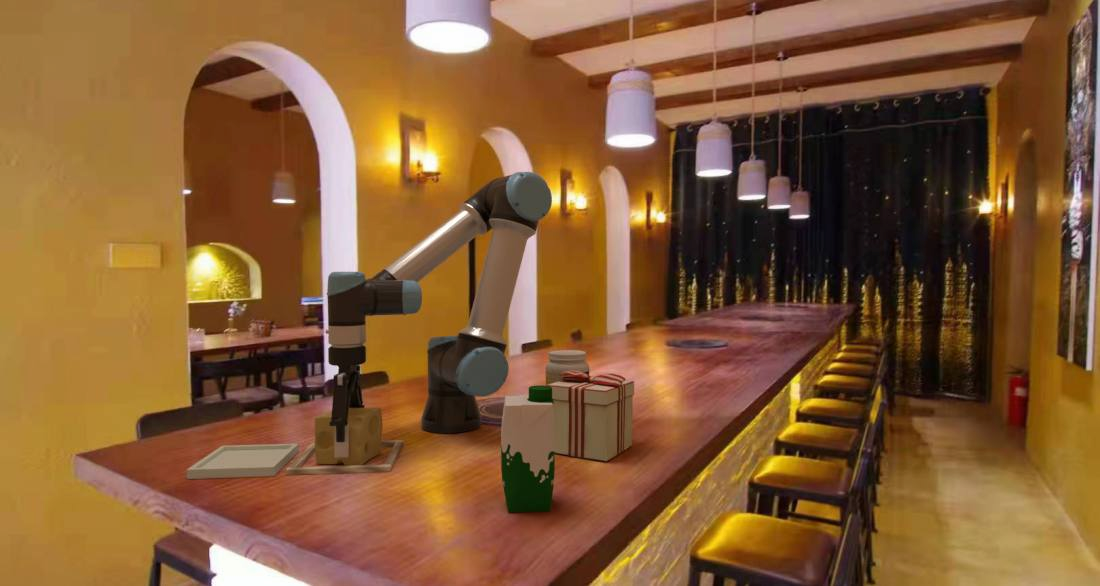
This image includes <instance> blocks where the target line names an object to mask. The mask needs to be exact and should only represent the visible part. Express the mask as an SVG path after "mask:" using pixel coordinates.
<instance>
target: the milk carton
mask: <svg viewBox="0 0 1100 586" xmlns="http://www.w3.org/2000/svg"><path fill="white" fill-rule="evenodd" d="M500 428H501V429H500V431H501V432H500V443H501V444H500V462H501V463H500V467H501V468H500V471H501V480H502V487H503V491H504V492H503V493H504V498H505V503H506V508H507V509H506V510H507V513H535V512H538V513H539V512H551V510H552V501H553V496H554V495H553V494H554V492H553V491H554V485H555V470H556V469H555V467H556V463H555V462H556V461H555V460H556V458H555V455H556V453H555V430H554V409H553V398H552V387H550V386H546V385H544V384H543V385H541V384H540V385H539V384H538V385H531V386H529V387H528V394H520V395H511V396H509V395H506V396H504V403H503V410H502V419H501V427H500Z"/></svg>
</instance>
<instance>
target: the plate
mask: <svg viewBox="0 0 1100 586" xmlns="http://www.w3.org/2000/svg"><path fill="white" fill-rule="evenodd" d="M299 448H300V444H299V443H277V444H275V443H274V444H272V443H269V444H239V445H237V444H236V445H235V444H234V445H221V446H219V447H218V448H216V449H215V450H214V451H212V452H211V453H208V454H207V455H206V456H205V457H203V458H202V459H200V460H198V461H197V462H196V463H193V465H191V466H190V467H188V468H187V469H186V479H187V480H196V479H199V480H201V479H203V480H204V479H230V478H258V477H259V478H260V477H262V478H264V477H275V476H276V475H277V474H278V473H279V472H280V471H281V470H282V469H283V468H284V467H285V466H286V465H287V464H288V463H289V462H290V461H291V460H292V459H293V458H294V457H295V456H296V455H297V454H298V453H300V449H299Z"/></svg>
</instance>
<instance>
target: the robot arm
mask: <svg viewBox="0 0 1100 586" xmlns="http://www.w3.org/2000/svg"><path fill="white" fill-rule="evenodd" d="M552 203H553V196H552V191H551V189H550V187H549V185H548V183H547V182H546V180H545V179H544V178H543V177H542V176H540V175H539V174H537V173H535V172H532V171H517V172H514V173H512V174H509V175H505V176H500V177H496V178H494V179H492V180H490V181H489V182H487V183H486V184H484V185H483V186H482V187H481V188H480V189H478V190H477V191H476V192H475V193H473V194H472V195H471V196H470V197H468V198H467V199H466V200H465V201H464V202H463V203H461V204H460V206H459V211H457V212H456V213H455V214H453V215H452V216H451V217H450V218H448V219H447V220H446V221H444V222H443V223H442V224H441V225H439V226H438V227H436V228H435V229H433V231H431V232H430V233H428V234H427V235H426V236H425V237H424V238H422V239H421V240H419V242H417V243H416V244H414V245H412V247H410V248H409V249H408V250H406V251H405V252H404V253H403V254H401V255H400V256H399V257H398V258H396V259H395V260H394V261H392V262H391V263H390V264H388V265H387V266H385V267H384V268H383V269H382V270H381V271H379V272H378V273H376V274H375V275H373V276H372V277H371V278H366V275H365V272H363V271H333V272H330V273H329V274H328V277H327V290H326V291H327V292H326V295H327V325H328V326H327V328H328V329H326V330H325V334H327V335H328V336H327V337H328V339H327V342H328V344H329V345H330V346H329V348H328V349H327V351H328V352H327V353H328V354H327V355H328V357H327V358H328V359H327V363H328V364H329V365H330V366H334V367H335V366H336V367H338V371H337V373H336V374H334V375H333V377H332V378H333V390H332V391H333V394H332V403H331V404H332V406H331V408H332V409H331V410H332V418H331V422H330V426H334V457H335V458H340V457H349V424H347V423H348V422H347V420H348V412H349V408H366V407H365V404H364V401H363V391H362V381H361V380H362V379H361V365H363V364H364V363H366V361H367V346H366V345H364V344H366V343H367V324H366V322H367V321H366V320H367V319H366V318H367V317H374V316H399V315H401V316H402V315H403V316H406V315H415V314H418V312H419V311H420V310H421V307H422V305H423V304H422V303H423V293H422V292H423V291H422V288H421V286H420V284H419V282H421V281H422V280H423V279H424V278H425V277H426V276H428V275H429V274H431V272H433V271H434V270H435V269H437V268H438V267H439V266H441V265H442V264H444V262H446V260H448V259H450V257H452V256H453V255H455V254H456V253H457V252H459V250H460V249H462V248H464V246H465V245H467V244H468V243H469V242H471V241H472V240H474V238H476V237H477V236H478V235H480V236H484V235H486V234H487V233H488V232H490V231H491V230H492V232H491V237H490V240H489V244H488V248H487V250H486V255H485V258H484V262H483V267H482V270H481V273H480V278H479V281H478V284H477V289H476V293H475V296H474V300H473V303H472V307H471V311H470V315H469V319H468V322H467V326H466V327H464V328H463V329H461V330H459V331H458V335H446V336H434V337H431V338H429V339H428V342H427V350H426V354H427V398H426V399H427V400H426V403H425V405H424V408H423V412H422V415H421V419H420V420H421V421H420V422H421V425H420V427H421V429H422V430H424V431H427V432H430V433H437V434H456V433H457V434H458V433H464V432H466V433H467V432H470V431H471V432H472V431H474V430H476V429H479V428H480V427H481V426H482V425H483V423H482V421H483V420H482V414H481V411H480V407H479V404H478V402H477V398H476V397H480V398H481V397H482V398H483V397H488V396H490V395H493V394H494V393H496V392H497V391H499V390H500V389H501V388H502V386H503V385H504V384H505V382H506V380H507V378H508V376H509V362H508V360H507V357H506V355H505V353H506V348H507V345H508V343H507V341H506V339H505V338H504V331H505V327H506V323H507V319H508V315H509V312H510V308H511V303H512V300H513V296H514V293H515V288H516V285H517V281H518V277H519V273H520V269H521V265H522V261H523V258H524V253H525V251H526V246H527V242H528V240H529V239H530V238H531V237H533V236H534V235H536V233H537V229H538V225H539V222H540V220H542V219H544V218H545V217H546V216H547V215H548V214H549V212H550V211H551V208H552ZM338 418H342V419H338Z"/></svg>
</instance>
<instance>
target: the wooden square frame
mask: <svg viewBox="0 0 1100 586" xmlns="http://www.w3.org/2000/svg"><path fill="white" fill-rule="evenodd" d="M403 446H404V440H403V439H398V440H397V439H394V440H393V439H391V440H390V439H389V440H382V443H381V448H385V447H386V448H388V447H389V448H390V447H392V448H391V451H390V452H389V454H388V455H387V458H386V459H385V462H384V463H383V464H363V465H352V466H346V465H329V466H327V465H326V466H325V465H324V466H303V465H305V463H306V462H307V461H308V460H309V459H310V458H311V457H312V456H313V455H314V454H315V441H314V442H312V443H310V445H308V446H307V448H306V449H304V451H303V452H301V454H300V455H299V456H298V457H296V459H294V461H293V462H292V463H291V464H290V465H288V466H287V468H285V470H284V472H285V476H297V475H302V476H303V475H325V474H326V475H329V474H331V475H332V474H334V475H335V474H357V473H358V474H361V473H365V474H366V473H387V472H389V473H390V472H391V471H392V469H393V467H394V465H395V463H396V461H397V459H398V457H399V454H400V452H401V451H402V448H403ZM302 466H303V467H302Z"/></svg>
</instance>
